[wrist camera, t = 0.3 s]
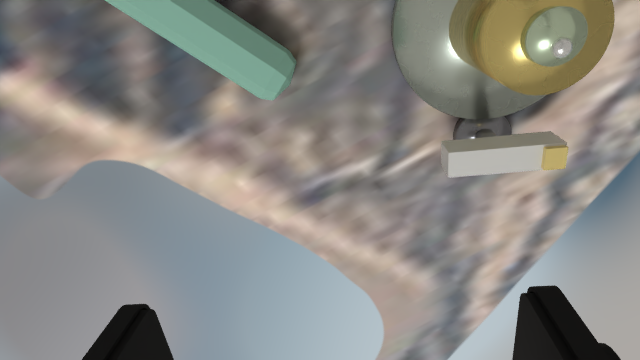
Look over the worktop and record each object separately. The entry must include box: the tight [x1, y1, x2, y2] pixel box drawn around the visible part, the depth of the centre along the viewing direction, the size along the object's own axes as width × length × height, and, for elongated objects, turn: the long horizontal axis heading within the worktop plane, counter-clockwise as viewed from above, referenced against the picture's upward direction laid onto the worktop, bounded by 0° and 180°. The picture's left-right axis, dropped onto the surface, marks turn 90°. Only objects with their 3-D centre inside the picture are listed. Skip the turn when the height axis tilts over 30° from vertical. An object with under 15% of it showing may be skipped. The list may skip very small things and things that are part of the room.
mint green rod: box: [105, 0, 296, 100], centre depth 33 cm, size 6×6×25 cm
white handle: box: [441, 129, 568, 178], centre depth 34 cm, size 9×2×6 cm, turn 97°
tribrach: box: [391, 0, 614, 140], centre depth 27 cm, size 27×19×14 cm
